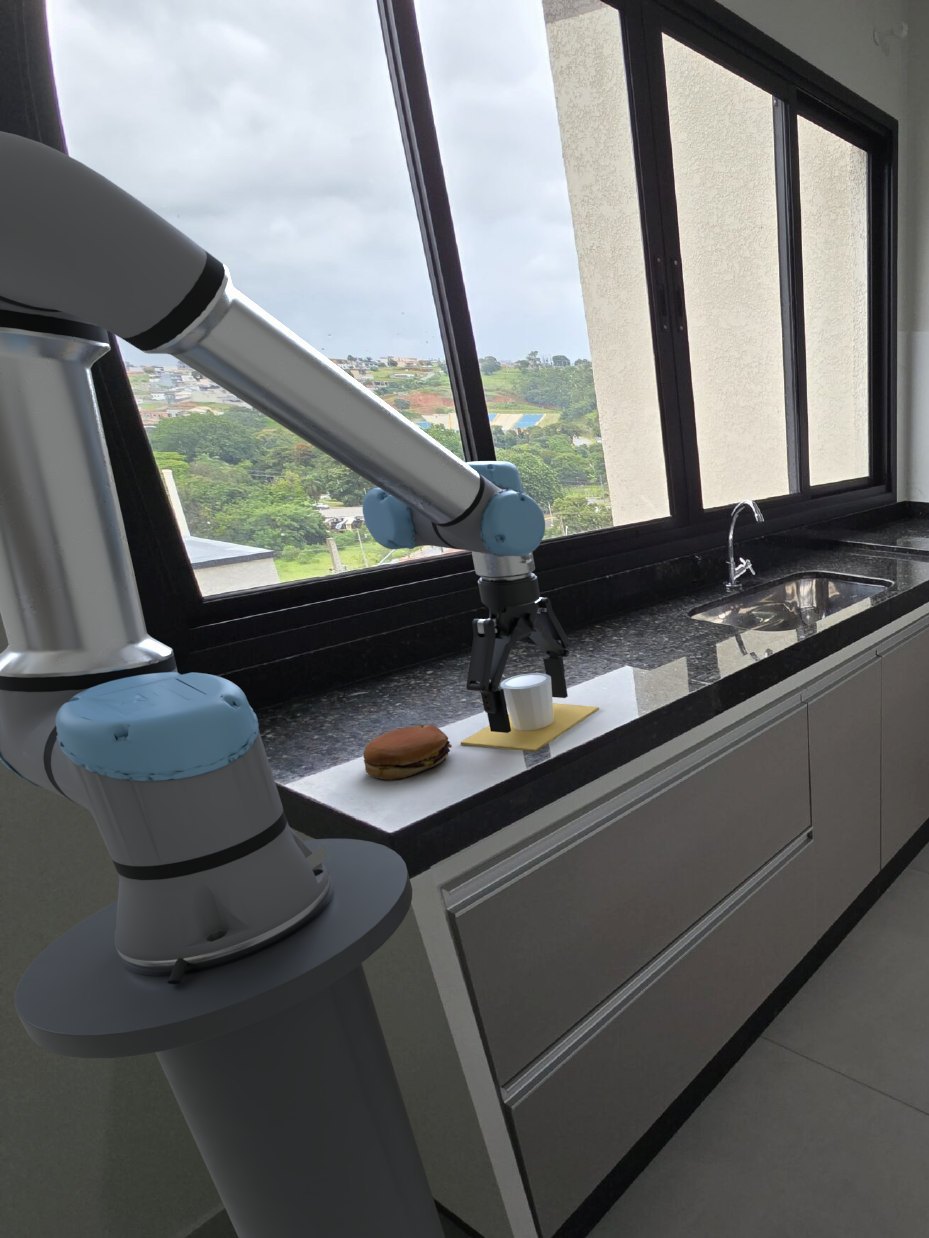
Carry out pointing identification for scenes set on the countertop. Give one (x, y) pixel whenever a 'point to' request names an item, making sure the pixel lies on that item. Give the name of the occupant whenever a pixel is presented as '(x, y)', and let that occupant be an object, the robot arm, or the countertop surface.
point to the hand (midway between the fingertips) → (531, 713)
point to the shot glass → (529, 701)
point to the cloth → (532, 739)
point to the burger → (405, 752)
